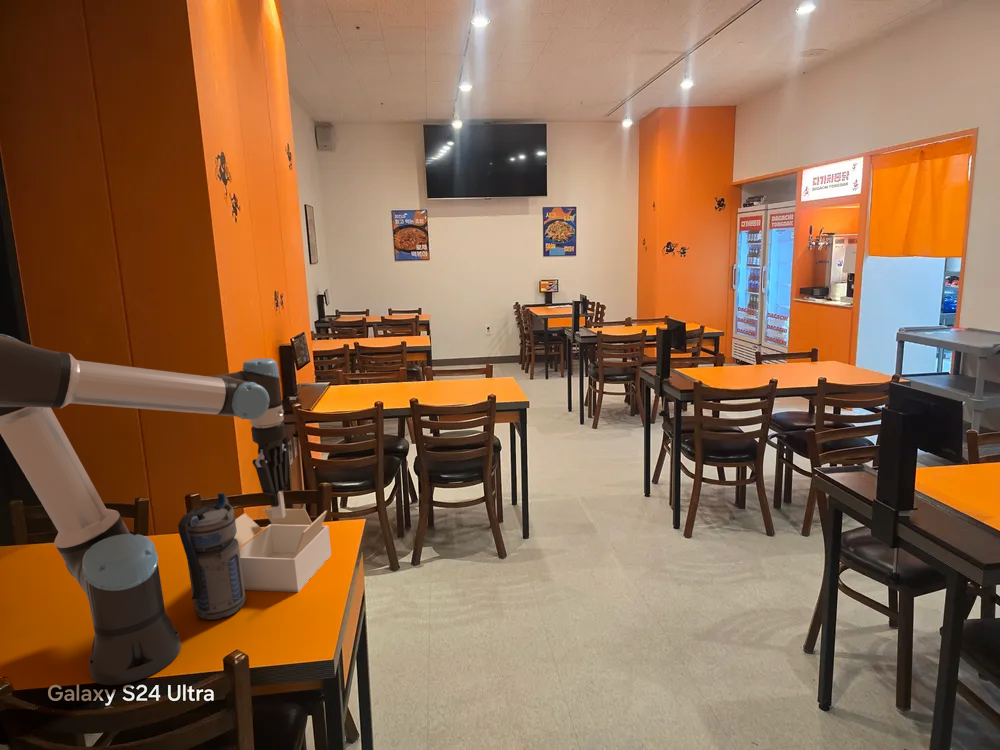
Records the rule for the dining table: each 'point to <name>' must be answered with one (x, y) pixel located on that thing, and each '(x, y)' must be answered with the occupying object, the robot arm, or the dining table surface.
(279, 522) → the flap
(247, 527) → the carton
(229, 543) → the beverage bottle
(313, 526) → the flap
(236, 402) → the robot arm
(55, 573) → the dining table surface
